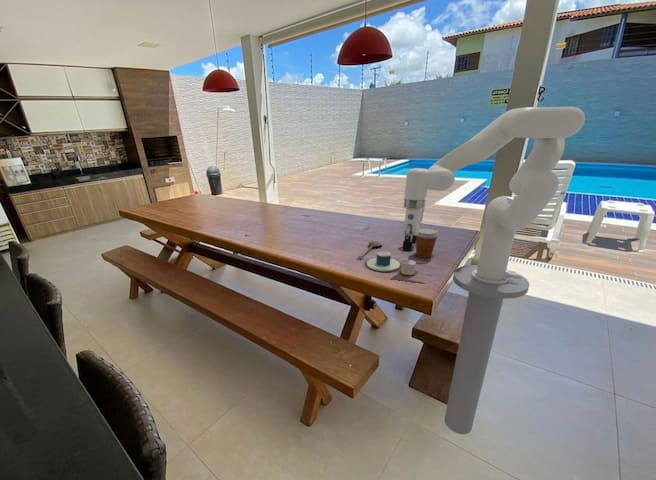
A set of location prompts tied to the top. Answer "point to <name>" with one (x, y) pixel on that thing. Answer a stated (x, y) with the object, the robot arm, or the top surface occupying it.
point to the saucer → (393, 266)
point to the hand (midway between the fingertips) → (409, 247)
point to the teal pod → (383, 258)
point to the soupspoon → (372, 244)
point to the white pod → (408, 267)
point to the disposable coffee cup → (425, 241)
